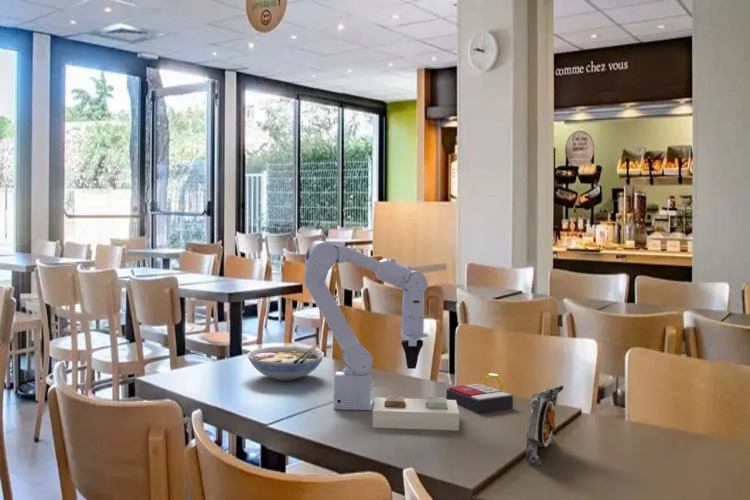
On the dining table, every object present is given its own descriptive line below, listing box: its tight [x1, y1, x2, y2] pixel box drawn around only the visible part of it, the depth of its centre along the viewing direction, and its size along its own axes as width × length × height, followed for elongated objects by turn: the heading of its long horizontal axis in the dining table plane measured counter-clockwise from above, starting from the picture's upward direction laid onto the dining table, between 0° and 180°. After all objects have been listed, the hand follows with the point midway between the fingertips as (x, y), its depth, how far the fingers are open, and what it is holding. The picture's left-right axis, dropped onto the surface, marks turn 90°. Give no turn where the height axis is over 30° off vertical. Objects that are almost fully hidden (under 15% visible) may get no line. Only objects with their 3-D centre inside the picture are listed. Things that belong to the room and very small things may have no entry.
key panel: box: [372, 396, 460, 431], centre depth 161 cm, size 20×11×4 cm, turn 87°
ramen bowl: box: [246, 345, 325, 382], centre depth 200 cm, size 25×23×8 cm
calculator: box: [446, 383, 514, 415], centre depth 178 cm, size 11×4×15 cm
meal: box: [525, 385, 565, 466], centre depth 142 cm, size 15×4×13 cm, turn 153°
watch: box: [481, 372, 505, 392], centre depth 186 cm, size 6×3×6 cm, turn 53°
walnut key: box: [385, 395, 405, 408], centre depth 161 cm, size 4×4×4 cm
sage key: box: [426, 396, 447, 409], centre depth 161 cm, size 4×4×4 cm
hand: (411, 368), depth 176 cm, fingers closed
